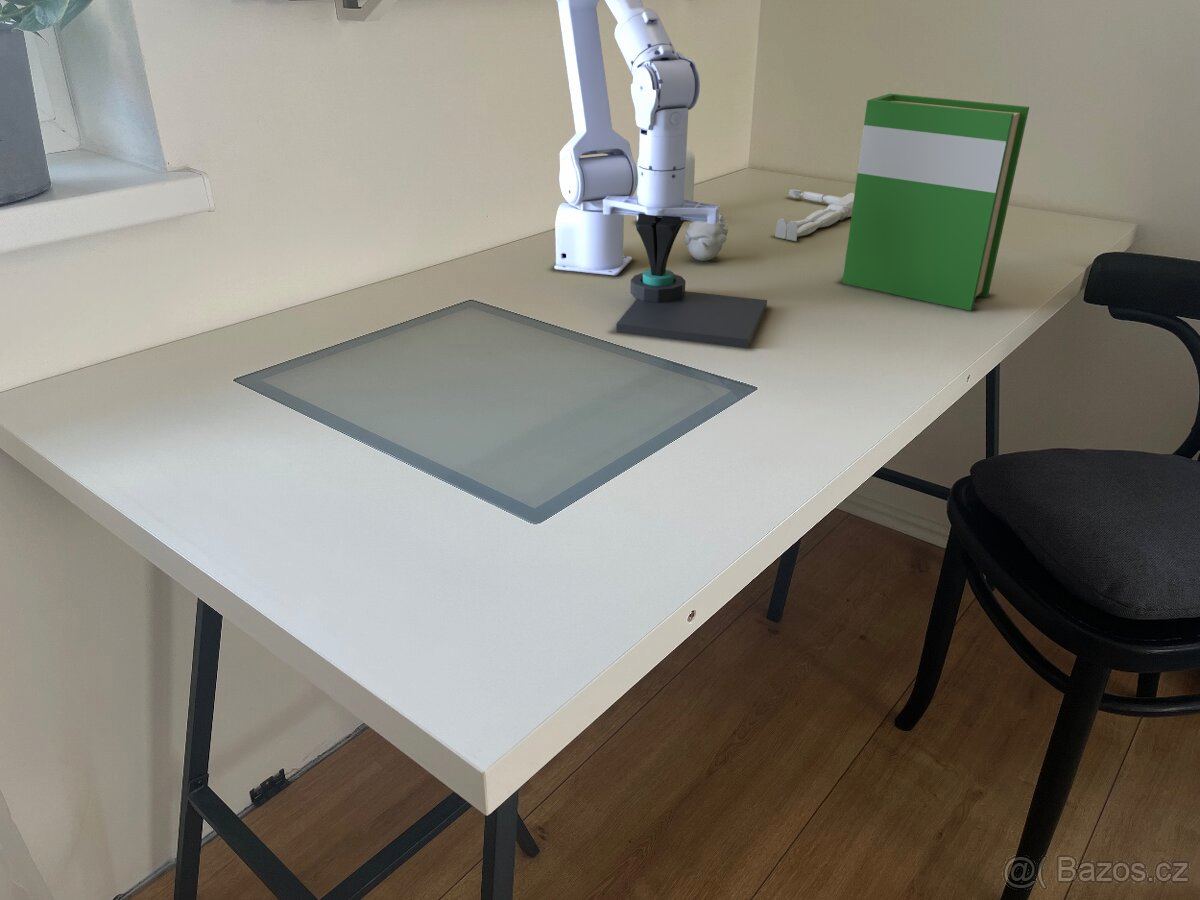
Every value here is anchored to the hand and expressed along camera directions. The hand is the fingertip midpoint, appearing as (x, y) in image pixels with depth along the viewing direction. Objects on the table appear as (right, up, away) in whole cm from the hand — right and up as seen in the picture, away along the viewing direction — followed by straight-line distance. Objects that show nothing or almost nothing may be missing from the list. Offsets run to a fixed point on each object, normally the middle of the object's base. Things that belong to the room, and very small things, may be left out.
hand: (658, 273), depth 119 cm
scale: (+4, -6, -3) cm, 8 cm away
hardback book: (+35, -1, +7) cm, 36 cm away
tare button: (0, -2, +1) cm, 2 cm away
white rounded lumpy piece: (+8, +5, +18) cm, 21 cm away
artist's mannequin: (+32, +16, +37) cm, 51 cm away
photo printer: (+3, +16, +37) cm, 40 cm away
